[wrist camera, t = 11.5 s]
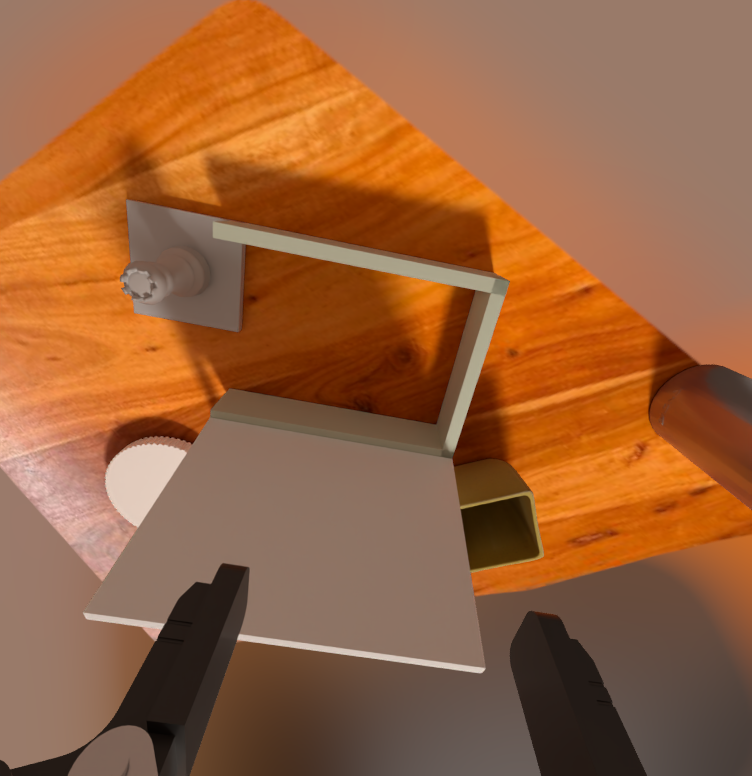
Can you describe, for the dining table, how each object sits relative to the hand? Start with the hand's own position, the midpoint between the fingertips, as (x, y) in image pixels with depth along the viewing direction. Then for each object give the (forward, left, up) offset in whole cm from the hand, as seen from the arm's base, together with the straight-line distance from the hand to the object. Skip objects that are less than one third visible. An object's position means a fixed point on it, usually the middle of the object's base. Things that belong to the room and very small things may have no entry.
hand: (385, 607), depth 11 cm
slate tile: (+19, -2, -30) cm, 35 cm away
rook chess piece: (+19, -2, -29) cm, 35 cm away
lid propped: (+3, +13, -25) cm, 28 cm away
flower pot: (-14, +16, -30) cm, 37 cm away
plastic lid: (+21, +24, -31) cm, 44 cm away
